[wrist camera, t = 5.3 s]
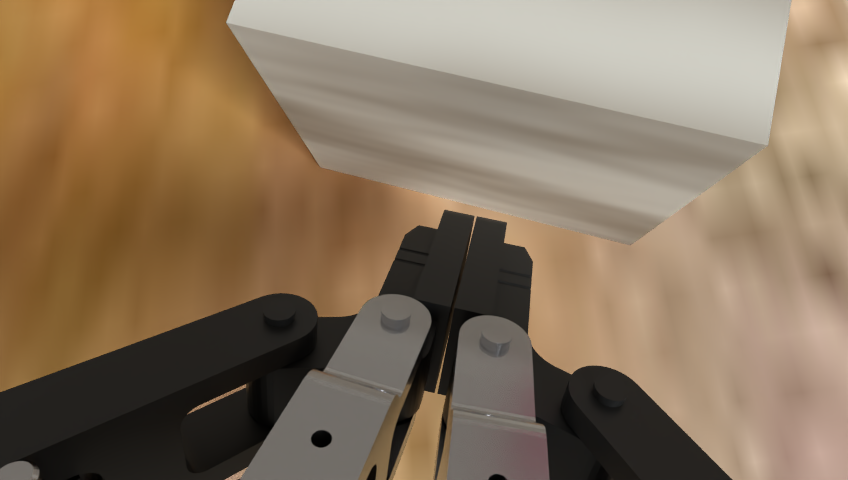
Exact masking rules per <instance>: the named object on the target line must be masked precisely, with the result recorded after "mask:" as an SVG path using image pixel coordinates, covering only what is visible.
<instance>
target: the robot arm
mask: <svg viewBox="0 0 848 480" xmlns="http://www.w3.org/2000/svg"><path fill="white" fill-rule="evenodd" d="M473 221H474V216H472V215H467V214H463V213H458V212H453V211H448V210H444V213H443V216H442V218H441V221H440V224H439V227H438V229H434V228H429V227H424V226H420V225H419V226H417V227H416V228H414V229H413V230H411V231H410V232H409V233H407V234H406V235H405V237H404V239H403V241H402V243H401V246H400V249H399V250H398V253H397V255H396V257H395V261H394V262H393V264H392V266H391V268H390V271H389V273H388V275H387V278H386V280H385V282H384V284H383V287H382V289H381V291H380V293H379V296H377V297H374V298H372V299H370V300H369V301H367V302H366V303H365V304H364V305H363V307H362V308H361V310H360V311H359V313H358V314H355V315H352V316H346V317H318V315H317V311H316V309H315V307H314V306H313V305H312V304H311V303H310V302H309V301H308V300H306V299H304V298H302V297H300V296H297V295H293V294H283V293H279V294H271V295H266V296H263V297H260V298H257V299H254V300H252V301H249V302H246V303H244V304H241V305H238V306H235V307H233V308H230V309H227V310H224V311H222V312H219V313H216V314H213V315H211V316H208V317H205V318H203V319H200V320H197V321H194V322H192V323H189V324H186V325H183V326H181V327H178V328H175V329H172V330H170V331H167V332H164V333H162V334H159V335H156V336H153V337H151V338H148V339H145V340H142V341H140V342H137V343H134V344H131V345H129V346H126V347H123V348H121V349H118V350H115V351H112V352H110V353H107V354H104V355H101V356H99V357H96V358H93V359H90V360H88V361H85V362H82V363H79V364H77V365H74V366H71V367H69V368H66V369H63V370H60V371H58V372H55V373H52V374H49V375H47V376H44V377H41V378H38V379H36V380H33V381H30V382H28V383H25V384H22V385H19V386H17V387H14V388H11V389H8V390H6V391H3V392H0V480H225V479H226V478H228V477H230V476H232V475H234V474H236V473H237V472H239V471H241V470H243V469H245V468H246V467H248V468H247V469H246V471H245V473H244V474H243V476H242V477H241V479H238V480H393V478H394V475H395V472H396V470H397V467H398V464H399V462H400V459H401V456H402V454H403V451H404V448H405V445H406V443H407V440H408V437H409V435H410V432H411V429H412V427H413V424H414V421H415V416H416V412H417V410H418V409H419V407H420V404H421V401H422V397H423V393H424V391H428V392H433V393H435V388H436V384H437V380H438V376H439V372H440V368H441V364H442V360H443V356H444V352H445V348H446V344H447V348H446V353H445V358H444V363H443V368H442V373H441V379H440V384H439V389H438V394H442V395H446V399H445V404H444V408H443V414H442V418H441V423H440V428H439V436H438V444H437V452H436V460H435V468H434V476H433V480H732V479H731V478H730V477H729V476H728V475H727V474H726V473H725V472H724V471H723V470H722V469H721V468H720V467H719V466H718V465H717V464H716V463H715V462H714V461H713V460H712V459H711V458H710V457H709V456H708V455H707V454H706V453H705V452H704V451H703V450H702V449H701V448H700V447H699V446H698V445H697V444H696V443H695V442H694V441H693V440H692V439H691V438H690V437H689V436H688V435H687V434H686V433H685V432H684V431H683V430H682V429H681V428H680V427H679V426H678V425H677V424H676V423H675V422H674V421H673V420H672V419H671V418H670V417H669V416H668V415H667V414H666V413H665V412H664V411H663V410H662V409H661V408H660V407H659V406H658V405H657V404H656V403H655V402H654V401H653V400H652V399H651V398H650V397H649V396H648V395H647V394H646V393H645V392H644V391H643V390H642V389H641V388H640V387H639V386H638V385H637V384H636V383H635V382H634V381H633V380H632V379H630V378H629V377H627V376H626V375H624V374H622V373H621V372H619V371H616V370H614V369H611V368H608V367H603V366H586V367H582V368H580V369H578V370H576V371H575V372H574V373H573V374H572V375H571V374H569V373H567V372H565V371H563V370H561V369H559V368H557V367H555V366H553V365H551V364H550V363H548V362H547V361H545V360H544V359H543V358H542V357H540V356H539V355H538V354H537V352H536V351H535V350H534V349H533V347H532V344H531V340H530V338H529V336H528V322H529V308H530V294H531V290H530V289H531V280H532V279H531V277H532V266H533V261H532V259H531V258H530V256H529V254H528V252H527V251H526V249H525V247H520V246H515V245H510V244H506V243H504V238H505V232H506V225H507V222H502V221H497V220H492V219H487V218H482V217H478V216H477V218H476V222H475V226H474V230H473V234H472V238H471V242H470V237H471V232H472V227H473ZM469 242H470V246H469ZM468 247H469V250H468ZM467 252H468V254H467ZM466 257H467V258H466ZM448 336H449V337H448ZM447 340H448V343H447ZM245 384H246V388H244V389H242V390H240V391H238V392H235V393H233V394H231V395H229V396H227V397H224V398H222V399H220V400H218V401H216V402H214V403H211V404H209V405H207V406H205V407H203V408H201V409H198V410H196V411H194V412H192V413H190V414H188V413H189V412H190V411H191V410H192V409H194V408H195V407H197V406H199V405H201V404H203V403H205V402H207V401H209V400H212V399H214V398H216V397H218V396H220V395H223V394H225V393H227V392H229V391H231V390H234V389H236V388H238V387H240V386H242V385H245Z"/></svg>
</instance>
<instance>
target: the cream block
mask: <svg viewBox="0 0 848 480" xmlns="http://www.w3.org/2000/svg"><path fill="white" fill-rule="evenodd" d="M790 6H791V0H235V1H234V4H233V6H232V9H231V11H230V14H229V17H228V19H227V22H226V23H227V25H228V26H229V28H230V29H231V31H232V32H233V34H234V36H235V37H236V39H237V40H238V42H239V43H240V45H241V46H242V48H243V49H244V51H245V52H246V54H247V55H248V57H249V59H250V60H251V62H252V63H253V65H254V66H255V68H256V69H257V71H258V72H259V74H260V75H261V77H262V79H263V80H264V82H265V83H266V85H267V86H268V88H269V89H270V91H271V92H272V94H273V95H274V97H275V98H276V100H277V102H278V103H279V105H280V106H281V108H282V109H283V111H284V112H285V114H286V115H287V117H288V118H289V120H290V122H291V123H292V125H293V126H294V128H295V129H296V131H297V132H298V134H299V135H300V137H301V138H302V140H303V141H304V143H305V145H306V146H307V148H308V149H309V151H310V152H311V154H312V155H313V157H314V158H315V160H316V161H317V163H318V165H319V166H320V167H321V168H325V169H329V170H333V171H337V172H341V173H345V174H349V175H353V176H357V177H361V178H365V179H369V180H373V181H377V182H381V183H385V184H389V185H393V186H397V187H401V188H405V189H409V190H413V191H417V192H421V193H425V194H429V195H433V196H437V197H440V198H444V199H448V200H452V201H456V202H460V203H464V204H468V205H472V206H476V207H480V208H484V209H488V210H492V211H496V212H500V213H504V214H508V215H512V216H516V217H520V218H524V219H528V220H532V221H536V222H540V223H544V224H548V225H552V226H556V227H560V228H564V229H568V230H572V231H576V232H580V233H583V234H587V235H591V236H595V237H599V238H603V239H607V240H611V241H615V242H619V243H623V244H627V245H632V244H633V243H634V242H636V241H637V240H639V239H640V238H641V237H643V236H644V235H645V234H647V233H648V232H650V231H651V230H652V229H654V228H655V227H656V226H658V225H659V224H661V223H662V222H663V221H665V220H666V219H667V218H669V217H670V216H672V215H673V214H674V213H676V212H677V211H678V210H680V209H681V208H683V207H684V206H685V205H687V204H688V203H690V202H691V201H692V200H694V199H695V198H696V197H698V196H699V195H701V194H702V193H703V192H705V191H706V190H707V189H709V188H710V187H712V186H713V185H714V184H716V183H717V182H718V181H720V180H721V179H723V178H724V177H725V176H727V175H728V174H729V173H731V172H732V171H734V170H735V169H736V168H738V167H739V166H740V165H742V164H743V163H745V162H746V161H747V160H749V159H750V158H751V157H753V156H754V155H756V154H757V153H758V152H760V151H761V150H762V149H764V148H765V147H767V146H768V142H769V135H770V129H771V123H772V117H773V111H774V105H775V98H776V92H777V86H778V80H779V74H780V67H781V61H782V55H783V49H784V43H785V37H786V30H787V24H788V18H789V12H790Z"/></svg>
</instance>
